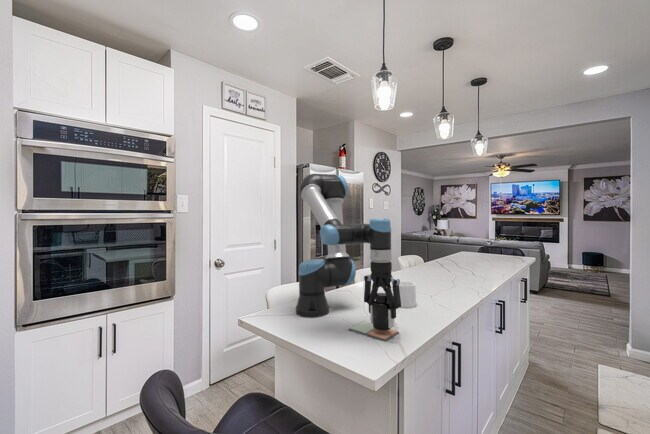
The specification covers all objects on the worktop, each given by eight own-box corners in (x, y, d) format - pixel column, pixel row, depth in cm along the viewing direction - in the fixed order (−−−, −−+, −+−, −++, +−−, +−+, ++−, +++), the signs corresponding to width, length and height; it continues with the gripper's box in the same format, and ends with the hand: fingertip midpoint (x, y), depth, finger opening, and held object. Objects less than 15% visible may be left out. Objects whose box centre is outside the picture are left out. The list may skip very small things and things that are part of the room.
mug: (411, 309, 133) (410, 287, 134) (390, 306, 140) (390, 284, 140) (420, 303, 143) (420, 282, 144) (401, 300, 150) (400, 279, 150)
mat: (348, 330, 110) (348, 328, 110) (363, 323, 117) (362, 321, 117) (385, 341, 99) (385, 339, 99) (399, 333, 106) (399, 330, 106)
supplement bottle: (392, 331, 101) (391, 297, 102) (372, 330, 103) (371, 296, 103) (391, 324, 108) (391, 292, 108) (373, 323, 110) (372, 291, 110)
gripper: (352, 260, 110) (354, 321, 109) (400, 264, 96) (402, 334, 96) (364, 257, 115) (365, 316, 115) (411, 262, 102) (412, 328, 102)
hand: (382, 324), depth 106 cm, fingers closed on supplement bottle, 7 cm apart
